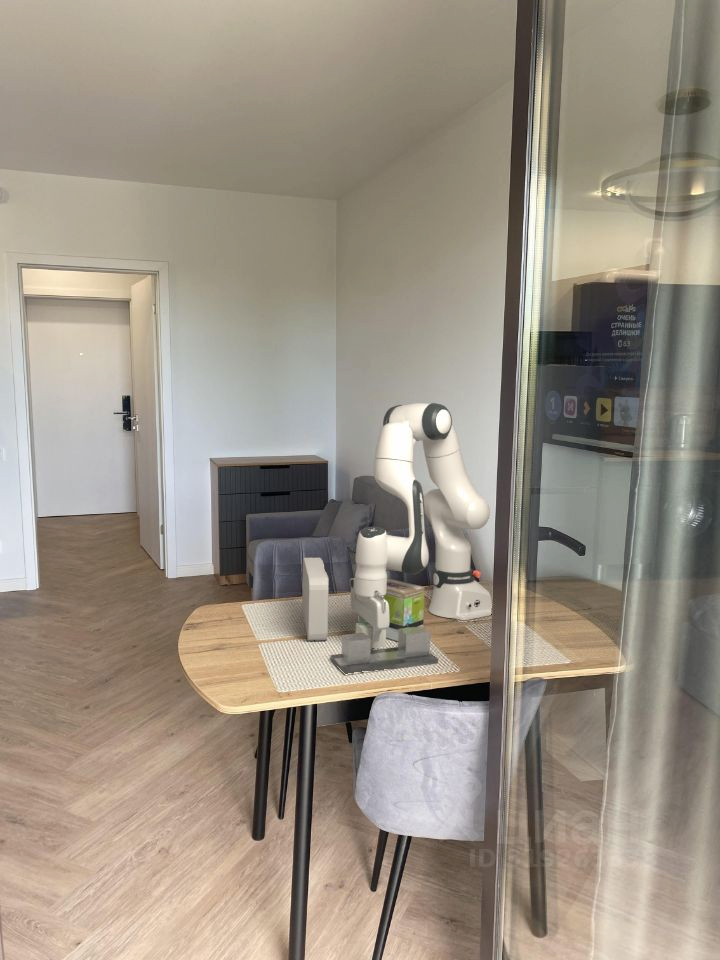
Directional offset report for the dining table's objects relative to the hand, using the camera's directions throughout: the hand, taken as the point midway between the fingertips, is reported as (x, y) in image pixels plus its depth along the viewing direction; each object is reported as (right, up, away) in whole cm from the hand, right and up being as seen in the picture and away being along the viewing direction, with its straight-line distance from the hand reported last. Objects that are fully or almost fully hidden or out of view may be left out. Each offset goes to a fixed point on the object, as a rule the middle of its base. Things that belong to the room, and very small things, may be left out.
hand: (368, 635), depth 204 cm
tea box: (+7, -2, +10) cm, 13 cm away
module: (0, -3, 0) cm, 3 cm away
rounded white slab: (-16, -1, +15) cm, 22 cm away
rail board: (+4, -5, -11) cm, 13 cm away
